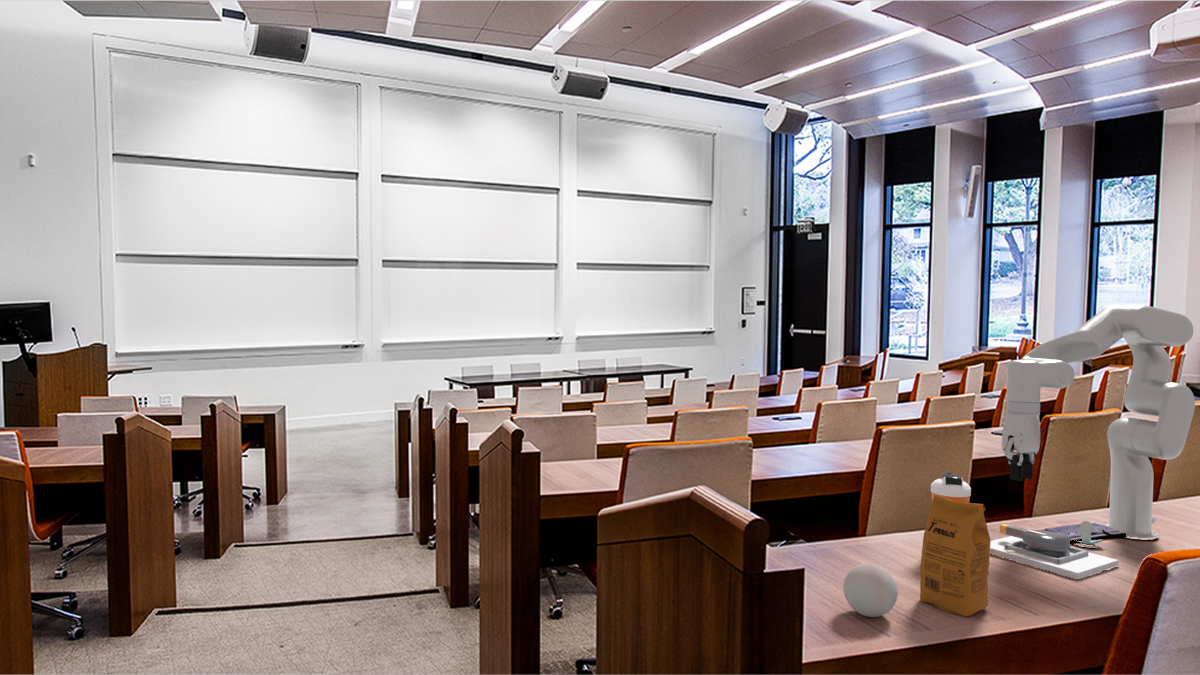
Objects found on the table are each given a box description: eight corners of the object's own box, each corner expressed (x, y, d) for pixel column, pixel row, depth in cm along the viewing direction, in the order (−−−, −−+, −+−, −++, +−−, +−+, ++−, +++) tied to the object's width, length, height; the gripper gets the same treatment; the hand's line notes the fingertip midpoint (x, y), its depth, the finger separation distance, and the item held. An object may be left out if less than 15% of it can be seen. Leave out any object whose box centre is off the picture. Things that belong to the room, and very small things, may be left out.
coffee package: (941, 591, 164) (943, 489, 163) (996, 611, 153) (999, 502, 152) (910, 599, 159) (913, 494, 158) (965, 620, 148) (968, 508, 147)
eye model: (835, 605, 155) (836, 557, 155) (883, 604, 156) (884, 556, 155) (854, 626, 145) (855, 574, 145) (906, 625, 146) (907, 573, 145)
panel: (1018, 540, 201) (1018, 530, 201) (1118, 566, 180) (1118, 555, 180) (977, 550, 192) (977, 540, 191) (1077, 580, 171) (1078, 568, 171)
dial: (1078, 554, 184) (1079, 537, 184) (1055, 561, 179) (1056, 543, 179) (1013, 537, 198) (1013, 521, 198) (990, 542, 193) (990, 526, 193)
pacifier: (1095, 552, 192) (1104, 547, 196) (1095, 527, 192) (1105, 523, 195) (1063, 545, 198) (1073, 540, 202) (1064, 521, 198) (1074, 516, 201)
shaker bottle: (961, 550, 191) (963, 471, 191) (975, 562, 182) (977, 479, 182) (924, 549, 192) (926, 470, 191) (936, 561, 183) (938, 478, 183)
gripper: (1026, 404, 203) (1024, 473, 204) (989, 408, 194) (987, 479, 195) (1055, 408, 196) (1053, 478, 197) (1018, 412, 188) (1016, 485, 189)
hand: (1021, 478), depth 196 cm, fingers open, 3 cm apart
